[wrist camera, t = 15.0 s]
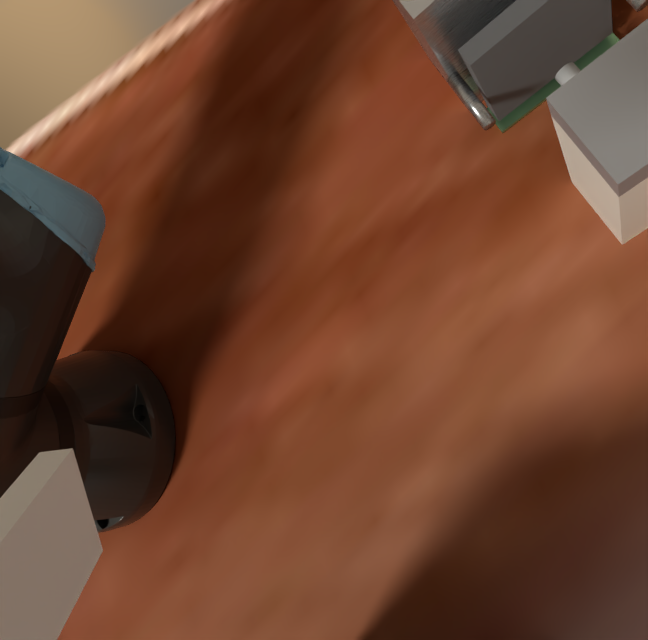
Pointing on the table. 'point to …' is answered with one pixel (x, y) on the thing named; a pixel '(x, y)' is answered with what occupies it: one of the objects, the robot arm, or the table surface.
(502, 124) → the grey boxy device
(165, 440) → the robot arm
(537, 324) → the table surface
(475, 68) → the plate
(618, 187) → the white and grey box
